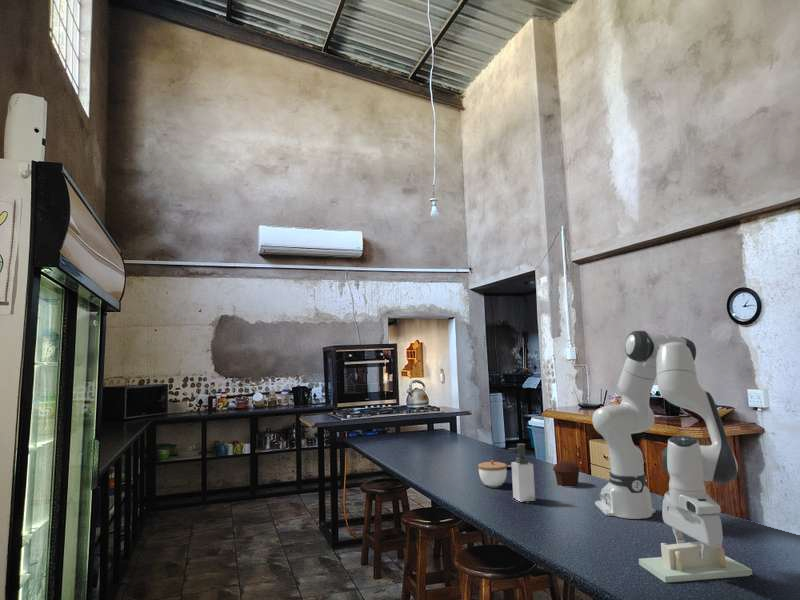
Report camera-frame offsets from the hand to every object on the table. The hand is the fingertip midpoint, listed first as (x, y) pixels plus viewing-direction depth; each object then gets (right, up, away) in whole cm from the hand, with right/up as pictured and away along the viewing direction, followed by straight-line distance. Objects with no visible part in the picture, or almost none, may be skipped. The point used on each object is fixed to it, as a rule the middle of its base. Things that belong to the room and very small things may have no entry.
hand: (692, 551), depth 142 cm
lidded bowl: (-37, -16, +95) cm, 103 cm away
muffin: (-4, -15, +93) cm, 94 cm away
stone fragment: (-24, -20, +129) cm, 133 cm away
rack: (0, -5, -1) cm, 5 cm away
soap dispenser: (-30, -13, +70) cm, 77 cm away
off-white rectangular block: (0, -3, 0) cm, 3 cm away
